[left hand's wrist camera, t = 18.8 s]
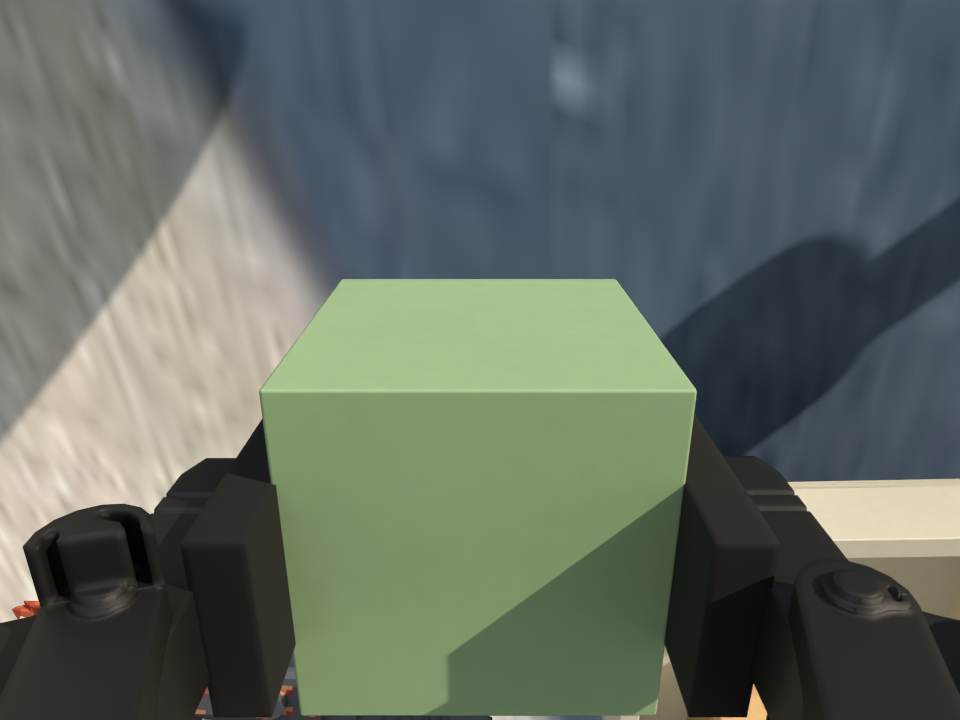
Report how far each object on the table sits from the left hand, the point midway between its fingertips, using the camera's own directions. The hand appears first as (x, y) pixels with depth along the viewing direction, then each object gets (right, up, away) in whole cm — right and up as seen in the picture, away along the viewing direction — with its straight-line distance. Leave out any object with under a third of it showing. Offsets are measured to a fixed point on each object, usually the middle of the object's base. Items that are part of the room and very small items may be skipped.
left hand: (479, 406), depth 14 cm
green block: (0, 0, 0) cm, 0 cm away
